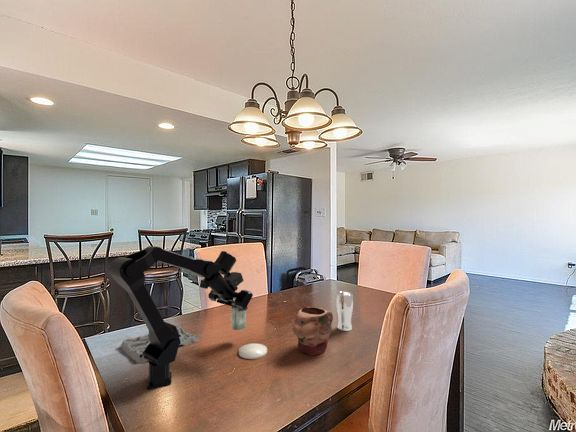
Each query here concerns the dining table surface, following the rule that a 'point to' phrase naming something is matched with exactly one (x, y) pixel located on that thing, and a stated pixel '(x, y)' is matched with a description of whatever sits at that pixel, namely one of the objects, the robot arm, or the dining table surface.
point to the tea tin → (237, 317)
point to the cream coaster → (253, 351)
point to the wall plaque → (139, 344)
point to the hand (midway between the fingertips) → (241, 307)
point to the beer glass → (344, 310)
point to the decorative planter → (313, 329)
